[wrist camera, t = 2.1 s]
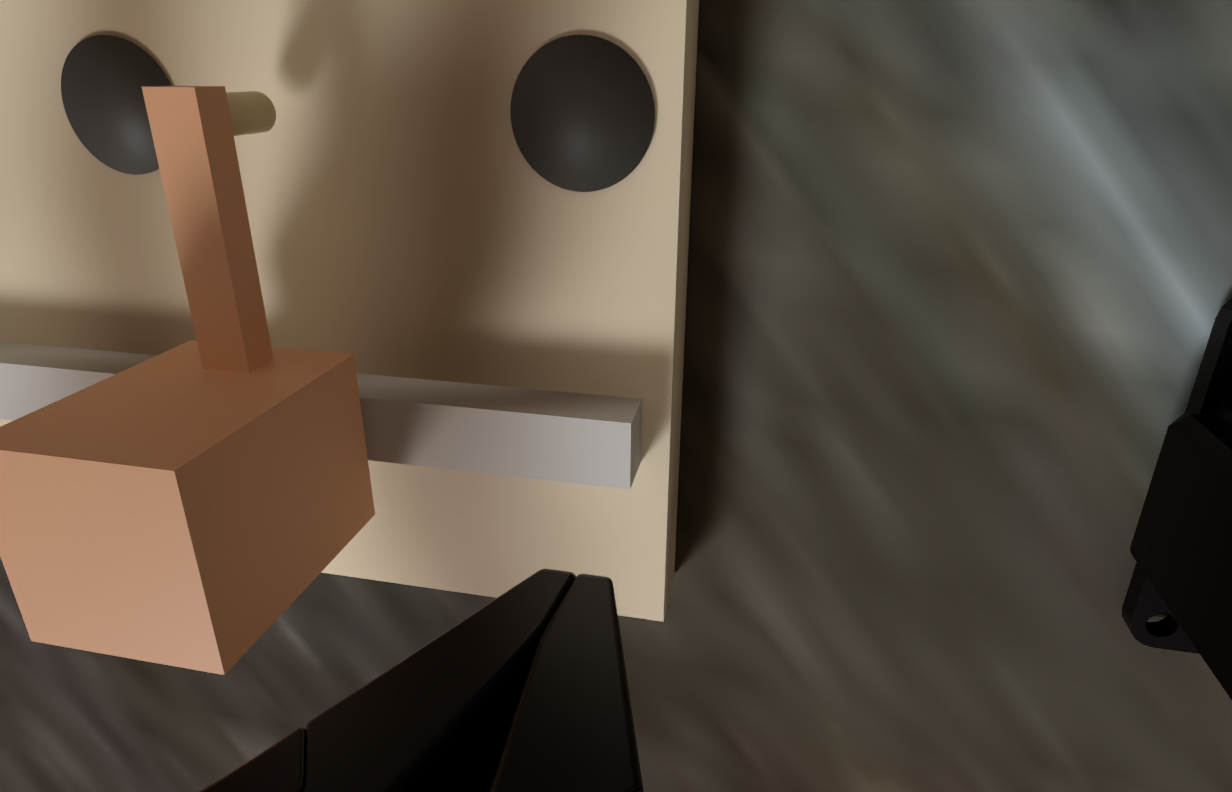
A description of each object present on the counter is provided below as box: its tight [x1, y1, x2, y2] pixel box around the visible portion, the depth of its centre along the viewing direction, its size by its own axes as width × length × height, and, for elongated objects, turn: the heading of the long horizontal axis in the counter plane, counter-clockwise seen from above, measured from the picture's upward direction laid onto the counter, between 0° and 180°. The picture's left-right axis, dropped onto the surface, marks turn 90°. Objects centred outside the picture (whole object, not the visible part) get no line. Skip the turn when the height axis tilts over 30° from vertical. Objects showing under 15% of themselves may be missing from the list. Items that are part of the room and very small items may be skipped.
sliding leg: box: [0, 86, 375, 675], centre depth 11 cm, size 3×7×5 cm, turn 1°
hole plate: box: [0, 0, 699, 621], centre depth 13 cm, size 19×11×6 cm, turn 91°
